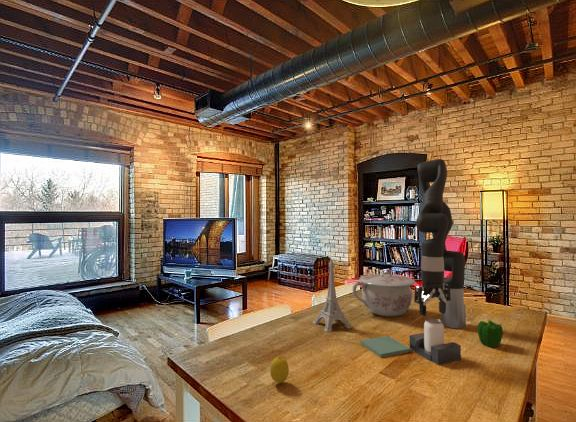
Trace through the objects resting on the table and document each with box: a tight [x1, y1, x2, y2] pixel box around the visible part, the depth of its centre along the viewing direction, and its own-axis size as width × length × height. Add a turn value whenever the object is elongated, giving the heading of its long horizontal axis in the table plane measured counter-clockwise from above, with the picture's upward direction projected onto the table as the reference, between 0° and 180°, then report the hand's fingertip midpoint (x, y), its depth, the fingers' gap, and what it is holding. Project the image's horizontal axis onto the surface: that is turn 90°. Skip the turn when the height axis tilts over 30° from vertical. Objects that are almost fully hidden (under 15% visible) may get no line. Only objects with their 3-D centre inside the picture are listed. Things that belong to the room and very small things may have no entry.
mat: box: [359, 335, 412, 358], centre depth 120 cm, size 13×13×1 cm
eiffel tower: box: [312, 258, 354, 333], centre depth 145 cm, size 13×13×30 cm
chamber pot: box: [351, 271, 416, 318], centre depth 162 cm, size 28×28×21 cm
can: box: [423, 317, 445, 353], centre depth 114 cm, size 6×6×12 cm
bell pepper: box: [476, 319, 504, 348], centre depth 122 cm, size 8×8×10 cm
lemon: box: [269, 356, 290, 385], centre depth 95 cm, size 6×6×8 cm
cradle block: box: [409, 332, 462, 366], centre depth 114 cm, size 11×14×5 cm
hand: (432, 314), depth 114 cm, fingers open, 8 cm apart
